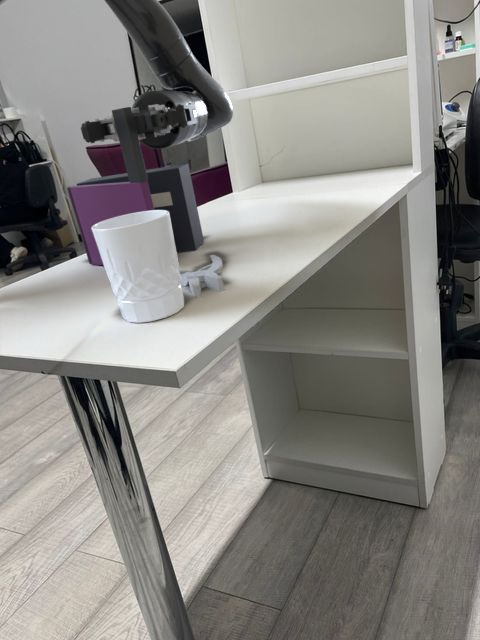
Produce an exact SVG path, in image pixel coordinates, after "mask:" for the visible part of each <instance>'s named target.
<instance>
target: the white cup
mask: <svg viewBox="0 0 480 640" xmlns="http://www.w3.org/2000/svg"><path fill="white" fill-rule="evenodd" d="M91 229H92V232H93V235H94V238H95V241H96V244H97V247H98V250H99V253H100V256H101V259H102V262H103V265H102V266H103V267H104V270H105V273H106V276H107V279H108V281H109V284H110V286H111V290H112V292H113V294H114V296H115V297H116V301H117V304H118V308H119V311H120V313H121V316H122V318H123V319H124V320H125V321H127V322H128V323H136V324H137V323H148V322H154V321H158V320H162V319H165V318H168V317H171V316H173V315H175V314H177V313H178V312H180V311H181V310H182V309H184V307H185V297H184V292H183V286H181V275H180V274H181V270H180V264H179V258H178V253H177V251H176V246H175V241H174V235H173V230H172V224H171V219H170V213H169V211H167V210H150V211H142V212H136V213H131V214H126V215H122V216H118V217H114V218H110V219H107V220H104V221H101V222H99V223H97V224H95V225H93V226H92V227H91Z"/></svg>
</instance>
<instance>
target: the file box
mask: <svg viewBox="0 0 480 640" xmlns="http://www.w3.org/2000/svg"><path fill="white" fill-rule="evenodd" d="M190 171H191V170H190V167H189V163H181V164H177V165H176V164H175V165H168V166H163V167H156V168H150V169H146V173H147V177H148V180H147V181H148V185H149V189H150V194H151V198H152V202H153V206H154V210H167V211H169V213H170V219H171V224H172V230H173V235H174V241H175V246H176V251H177V254H179V253H186V252H192V251H197V250H198V249H199V248H200V247H201V246H202V245H203V244H204V243H205V239H204V233H203V230H202V224H201V220H200V215H199V209H198V205H197V201H196V195H195V190H194V185H193V180H192V175H191V172H190ZM119 182H129V178H128V174H127V172H124V173H118V174H112V175H106V176H99V177H93V178H89V179H86V180H83V181H81V182H78V183H76V186H79V185H93V184H106V183H119Z"/></svg>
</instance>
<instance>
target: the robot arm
mask: <svg viewBox="0 0 480 640" xmlns="http://www.w3.org/2000/svg"><path fill="white" fill-rule="evenodd" d="M6 1H8V0H0V6H1V5H2V4H4V3H6ZM103 1H104V2H105V3H106V5H107V6H108V7H109V9H110V11H112V13H113V14H114V16H115V17H116V18H117V20H118V22H120V24H121V26H122V27H123V28H124V29H125V31H126V32H127V34H128V35H129V37H130V39H131V40H132V42H133V43H134V45H135V46H136V48H137V50H138V51H139V53H140V54H141V56H142V58H143V59H144V60H145V62H146V64H147V65H148V67H149V69H150V70H151V72H152V74H153V75H154V76H155V78H156V80H157V81H158V83H159V84H160V85H161V86H162V87H163V88H164V89H165V90H164V89H163V90H148V91H146V92H143V93H142V94H140V95H139V96H138V97H137V98H136V99H135V100H134V102H133V104H132V106H131V110H132V114H133V118H134V122H135V126H136V131H137V135H138V139H139V142H141V143H142V144H143V145H145V146H146V147H148V148H150V149H154V150H163V149H164V150H165V149H167V148H170V147H174V146H177V145H180V144H182V143H185V142H186V141H187V142H193V141H195V140H198V139H201V138H203V137H204V136H206V135H209V134H211V133H212V132H215V131H217V130H219V129H221V128H223V127H226V126H227V125H228V124H229V123H231V121H232V119H233V117H234V116H233V115H234V106H233V102H232V99H231V98H230V96H229V94H228V93H227V91H226V90H225V89H224V88H223V86H221V84H220V83H219V82H218V81H217V80H215V78H214V77H213V76H212V75H211V74H210V73H209V72H208V71H207V70H206V69H205V68H204V67H203V66H202V64H201V63H200V62H199V60H198V59H197V58H196V56H195V55H194V54H193V52H192V50H191V48H190V46H189V44H188V42H187V41H186V39H185V38H184V35H183V34H182V32H181V30H180V29H179V27H178V25H177V24H176V22H175V21H174V19H173V18H172V16H171V15H170V14H169V13H168V10H166V8H165V7H164V6H163V4H161V3H160V1H159V0H103ZM181 88H189V89H192V90H193V91H192V92H191V91H184V90H182V91H177V90H176V89H181ZM80 131H81V134H82V138H83V140H84V141H85V142H86V143H88V144H89V143H90V144H95V143H96V142H101V143H102V142H105V141H106V140H112V141H113V142H115V143H118V142H119V138H118V134H117V130H116V126H115V122H114V118H113V114H112V113H110V114H108V115H107V117H106V118H104V119H99V118H96V119H94V120H92V121H89V120H86V121H84V122H83V123H81V126H80Z"/></svg>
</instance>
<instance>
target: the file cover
mask: <svg viewBox="0 0 480 640" xmlns="http://www.w3.org/2000/svg"><path fill="white" fill-rule="evenodd" d="M131 109H132V106H126V107H121V108H116V109H112V110H111V114H113V118H114V122H115V126H116V130H117V134H118V138H119V141H118V142H119V146H120V149H121V153H122V157H123V161H124V165H125V169H126V173H127V174H128V178H129V182H119V183H106V184H93V185H79V186H77V185H70V186H67V187H66V191H67V194H68V197H69V201H70V204H71V208H72V211H73V214H74V217H75V221H76V224H77V227H78V231H79V234H80V237H81V240H82V244H83V247H84V251H85V254H86V258H87V261H88V264H89V265H96V266H99V265H100V266H104V265H103V262H102V259H101V256H100V253H99V250H98V247H97V244H96V241H95V238H94V235H93V232H92V229H91V227H92V226H93V225H95V224H97V223H99V222H101V221H104V220H107V219H110V218H114V217H118V216H122V215H126V214H131V213H136V212H142V211H150V210H154V206H153V202H152V198H151V194H150V189H149V185H148V181H147V180H148V177H147V173H146V170H147V169H146V168H147V167H146V165H145V160H144V156H143V153H142V148H141V144H140V140H139V139H138V135H137V131H136V126H135V122H134V118H133V114H132V110H131Z"/></svg>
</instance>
